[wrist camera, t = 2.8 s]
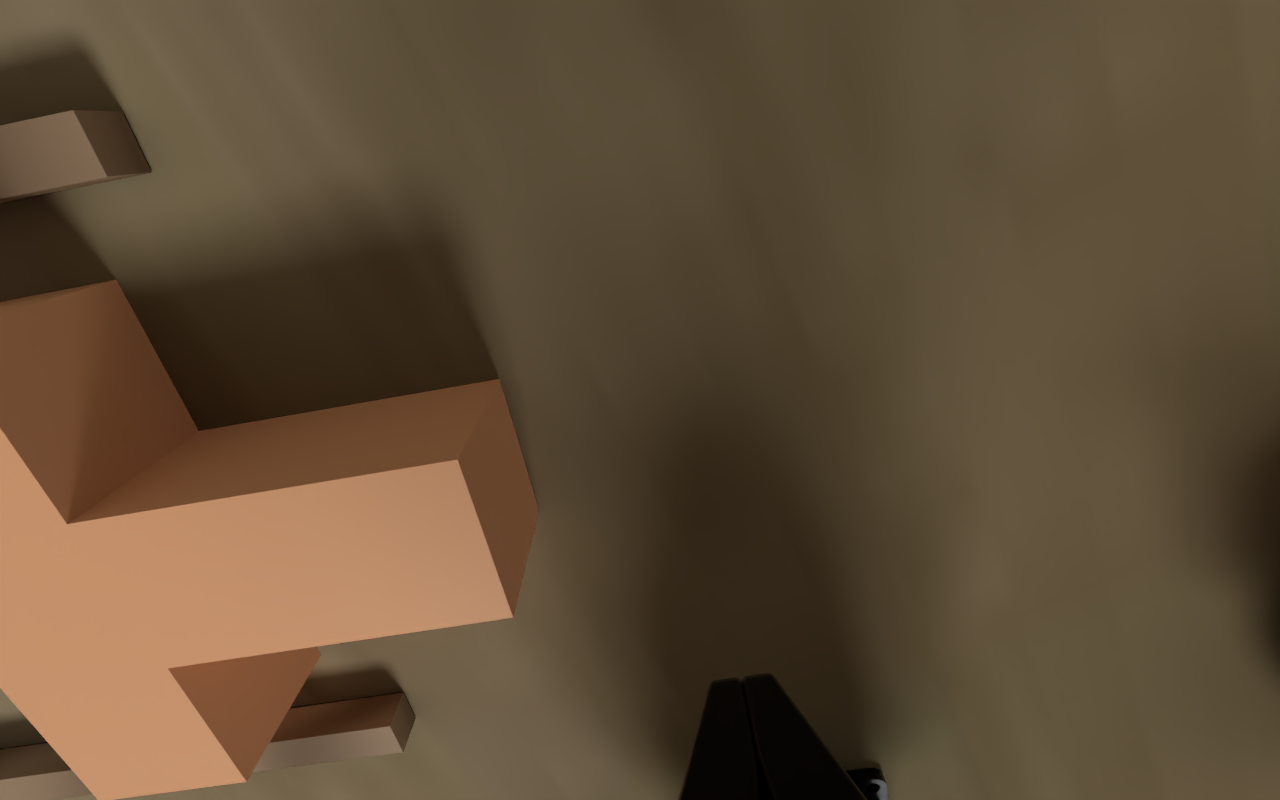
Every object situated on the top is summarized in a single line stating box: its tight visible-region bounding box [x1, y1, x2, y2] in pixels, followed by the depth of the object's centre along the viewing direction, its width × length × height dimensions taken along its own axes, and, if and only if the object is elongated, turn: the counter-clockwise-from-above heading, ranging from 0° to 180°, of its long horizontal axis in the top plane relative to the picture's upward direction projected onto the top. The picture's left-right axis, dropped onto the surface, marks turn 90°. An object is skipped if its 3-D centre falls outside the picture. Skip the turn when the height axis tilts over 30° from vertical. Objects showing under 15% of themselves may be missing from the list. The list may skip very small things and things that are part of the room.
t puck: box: [0, 280, 539, 800], centre depth 14 cm, size 12×12×4 cm
